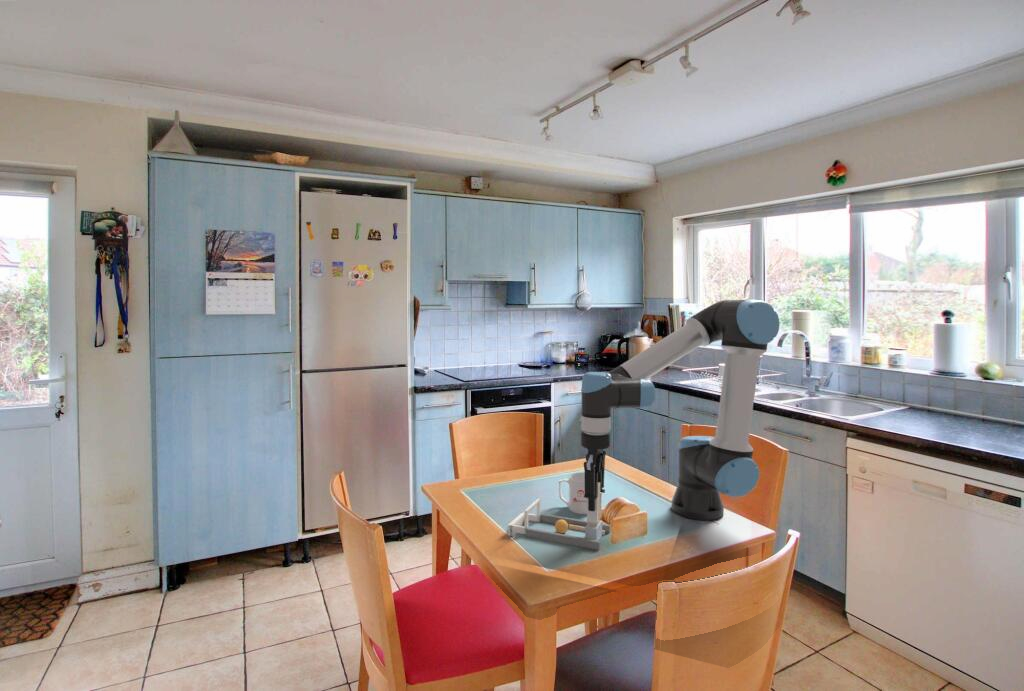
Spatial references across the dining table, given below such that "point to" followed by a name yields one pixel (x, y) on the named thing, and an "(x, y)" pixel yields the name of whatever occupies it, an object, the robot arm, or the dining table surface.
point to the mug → (575, 493)
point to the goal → (524, 519)
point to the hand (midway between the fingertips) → (594, 519)
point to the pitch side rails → (564, 538)
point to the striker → (595, 529)
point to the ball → (561, 526)
